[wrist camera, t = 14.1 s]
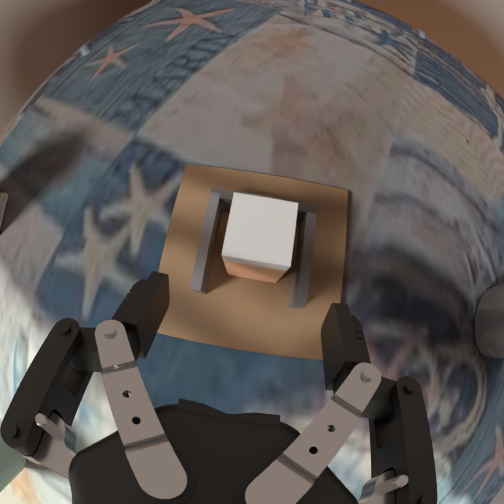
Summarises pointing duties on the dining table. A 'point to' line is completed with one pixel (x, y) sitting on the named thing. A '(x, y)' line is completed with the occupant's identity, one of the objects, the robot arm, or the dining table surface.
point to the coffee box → (2, 204)
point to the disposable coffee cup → (9, 464)
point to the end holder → (244, 289)
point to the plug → (259, 237)
